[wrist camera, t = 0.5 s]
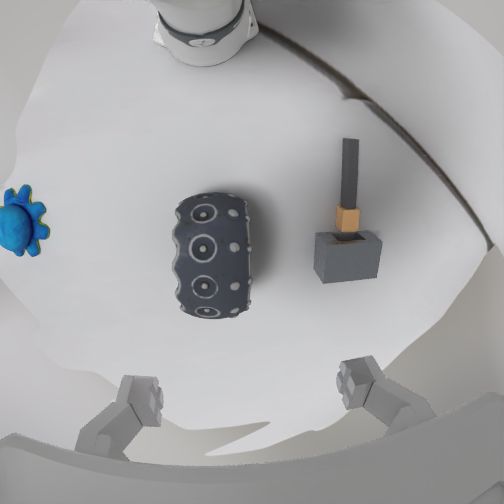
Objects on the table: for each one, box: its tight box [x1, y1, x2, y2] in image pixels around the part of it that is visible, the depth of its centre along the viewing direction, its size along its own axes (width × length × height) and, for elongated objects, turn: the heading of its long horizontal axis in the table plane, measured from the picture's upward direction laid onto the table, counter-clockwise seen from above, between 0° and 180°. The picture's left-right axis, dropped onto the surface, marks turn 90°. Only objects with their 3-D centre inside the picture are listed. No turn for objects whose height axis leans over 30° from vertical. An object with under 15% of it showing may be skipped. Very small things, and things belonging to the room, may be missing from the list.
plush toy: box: [0, 185, 50, 257], centre depth 45 cm, size 17×17×8 cm
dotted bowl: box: [172, 193, 252, 319], centre depth 46 cm, size 11×20×20 cm, turn 179°
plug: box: [336, 138, 360, 232], centre depth 52 cm, size 18×4×3 cm, turn 2°
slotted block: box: [314, 230, 382, 284], centre depth 56 cm, size 8×12×6 cm, turn 92°
